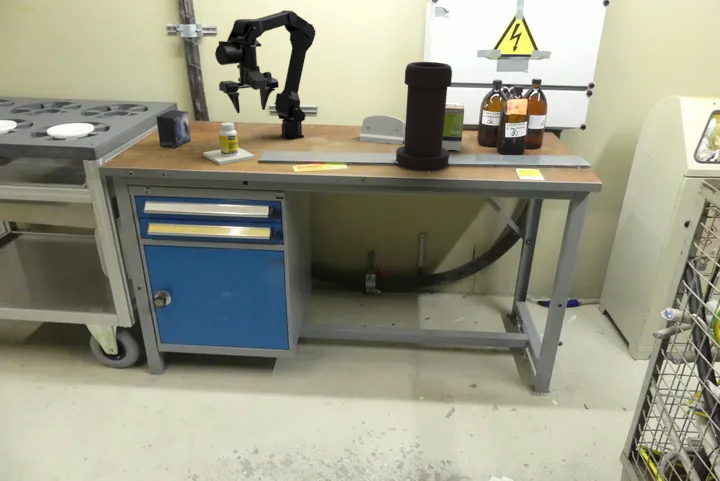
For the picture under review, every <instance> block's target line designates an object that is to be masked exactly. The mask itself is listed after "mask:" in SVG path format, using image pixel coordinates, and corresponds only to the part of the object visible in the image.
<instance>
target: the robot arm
mask: <svg viewBox="0 0 720 481" xmlns="http://www.w3.org/2000/svg"><path fill="white" fill-rule="evenodd" d="M283 26H284V28H285V31H287V32H288V33H289V41H290V44H291V52H290V57H289V58H290V59H289V63H288V68H287V73H286V77H285V83H284V87H283V90H282V91H281V92H276V95H275V102H273V103H274V105H275V107H274V110H275V111H276V113H277V116H278V119H279V120H281V123H282V124H281V125H280V126H281V134H280V136H281V137H283V138H285V139H287V140H293V139H300V138H304V137H305V135H304V134H303V132H302V131H303V129H302V127H303V126H302V123H303V122H304V121H305V120H306V115H307V114H305V112H304V111H303V110H302V109H301V108H300V107H301V99H300V96H299V89H300V84H301V78H302V76H303V75H302V74H303V70H304V65H305V59H306V54H307V52H308V50H309V48H311V47H312V45H313V43H314V39H315V37H316V29H315V27H314V25H313V24H311V23H309V22H308V21H307V20H305V19H304V18H303V17H301V16H299V15H298V14H297V13H296V12H295V11H293V10H282V11H279V12H276V13H272V14H269V15H266V16H262V17H258V18H241V19H236V20H235V21H234V22H233V25H232V28H231V30H230V33H229V36H228V38H227V40H226V41H225V40H220V41H219V40H218V45H217V47H216V48H215V53H214V55H215V59H216V61H217V62H218V64H219V65H220V66H226V65H236V64H237V65H236V68H237V69H238V70H239V77H238V78H237V82H236V81H234V80H223V81H220V82H219V84H218V87H219V88H218V89H219V91H220V92H223V94H226V95H227V96H228V98H229V99H230V101H231V103H232V106H233V107H234V109H235V111H236V113H237V114H240V110H241V108H240V99H239V96H240V92H238V91H239V89H240V90H241V89H249V88H251V89H252V90H256V91H258V90H259V96H260V97H259V98H260V106H261V109H262V111H265V110H266V107H267V103H268V100H269V97H270V95H271V93H272V92H273V91H275V90H276V89H277V88H279V81H278V79H277V78H274V77H272V72H271V71H265V72H264V71H263V72H261V68H260V65H258V60H257V58H258V57H257V48H258V47H262V43H260V41H258V40H257V38H260V37H261V36H262V35H263V34H264V33H265V32H269V31H272V30H274V29H278V28H281V27H283Z"/></svg>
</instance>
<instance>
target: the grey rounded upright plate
mask: <svg viewBox="0 0 720 481" xmlns="http://www.w3.org/2000/svg"><path fill="white" fill-rule="evenodd" d="M361 124H362V125H361V128H360V133H359V136H358V141H359V142H366V143H367V142H368V143H376V142H378V143H379V144H386V143H391V144H390V145H396V144H401V145H400V146H403V145H402V144H403V143H405V126H406V121H404V120H403V119H400V118H398V117H395V116H391V115H385V114H384V115H383V114H382V115H381V114H380V115H379V114H378V115H377V114H376V115H372V116H366V117H365V118H363V121H362V123H361ZM378 143H377V144H378Z"/></svg>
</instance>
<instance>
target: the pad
mask: <svg viewBox="0 0 720 481" xmlns="http://www.w3.org/2000/svg"><path fill="white" fill-rule="evenodd" d="M202 154H203V156H204V157H205V158H207V159H209V160H210V161H212V162H214V163H215V164H218V165H219V166H221V165H227V164H232V163H238V162H243V161H248V160H255V158H256V157H255V155H254V154H252V153H250V152H249V151H246V150H245V149H242V148H241V147H239V146H238V154H237V155H235V156H224V155H222V154H221V149H215V150H210V151H205V152H203V153H202Z"/></svg>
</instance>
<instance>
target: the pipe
mask: <svg viewBox="0 0 720 481" xmlns="http://www.w3.org/2000/svg"><path fill="white" fill-rule="evenodd" d="M452 79H453V69H452V67H451V65H450V64H448V63H443V62H437V61H432V62H431V61H415V62H414V61H413V62H409V63H408V64H407V65H406V67H405V70H404V85H406V86H407V92H406V93H407V94H406V98H407V99H406V111H405V112H406V114H405V142H403V143H404V145H401V146H400V147H398V148H397V149H396V152H395V154H396V156H395V162H396V161H397V162H398V165H397V166H399V167H401V168H403V169H406V170H410V171H418V172H434V171H441V170H443V169H446V168H448V167H449V159H450V158H449V157H450V152H449V151H447V150H446V149H443V148H442V141H443V130H444V119H445V108H446V103H447V95H448V94H447V93H448V88H449V87H451V86H452V81H453V80H452Z"/></svg>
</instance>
